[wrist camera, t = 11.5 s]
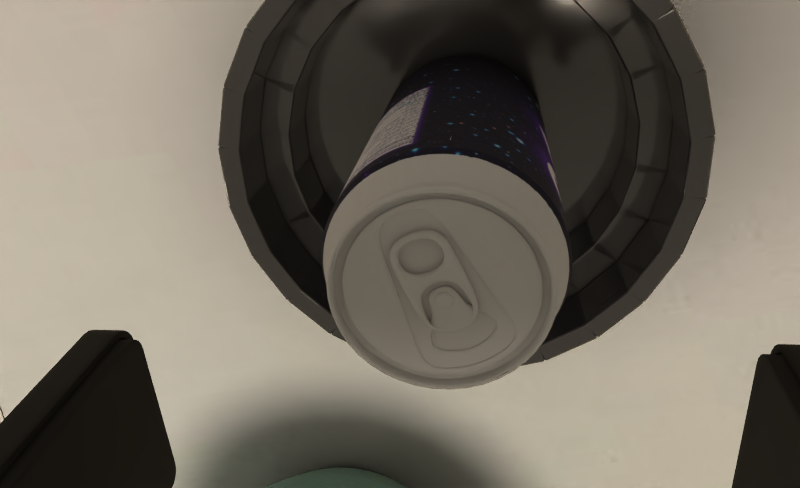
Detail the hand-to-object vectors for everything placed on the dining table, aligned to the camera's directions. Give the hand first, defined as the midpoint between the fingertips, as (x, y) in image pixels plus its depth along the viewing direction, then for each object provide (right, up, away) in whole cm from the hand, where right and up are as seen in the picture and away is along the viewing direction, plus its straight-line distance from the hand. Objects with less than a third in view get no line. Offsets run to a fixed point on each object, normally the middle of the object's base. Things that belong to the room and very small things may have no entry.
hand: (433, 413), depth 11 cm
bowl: (+2, +7, +15) cm, 17 cm away
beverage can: (+2, +7, +15) cm, 16 cm away
